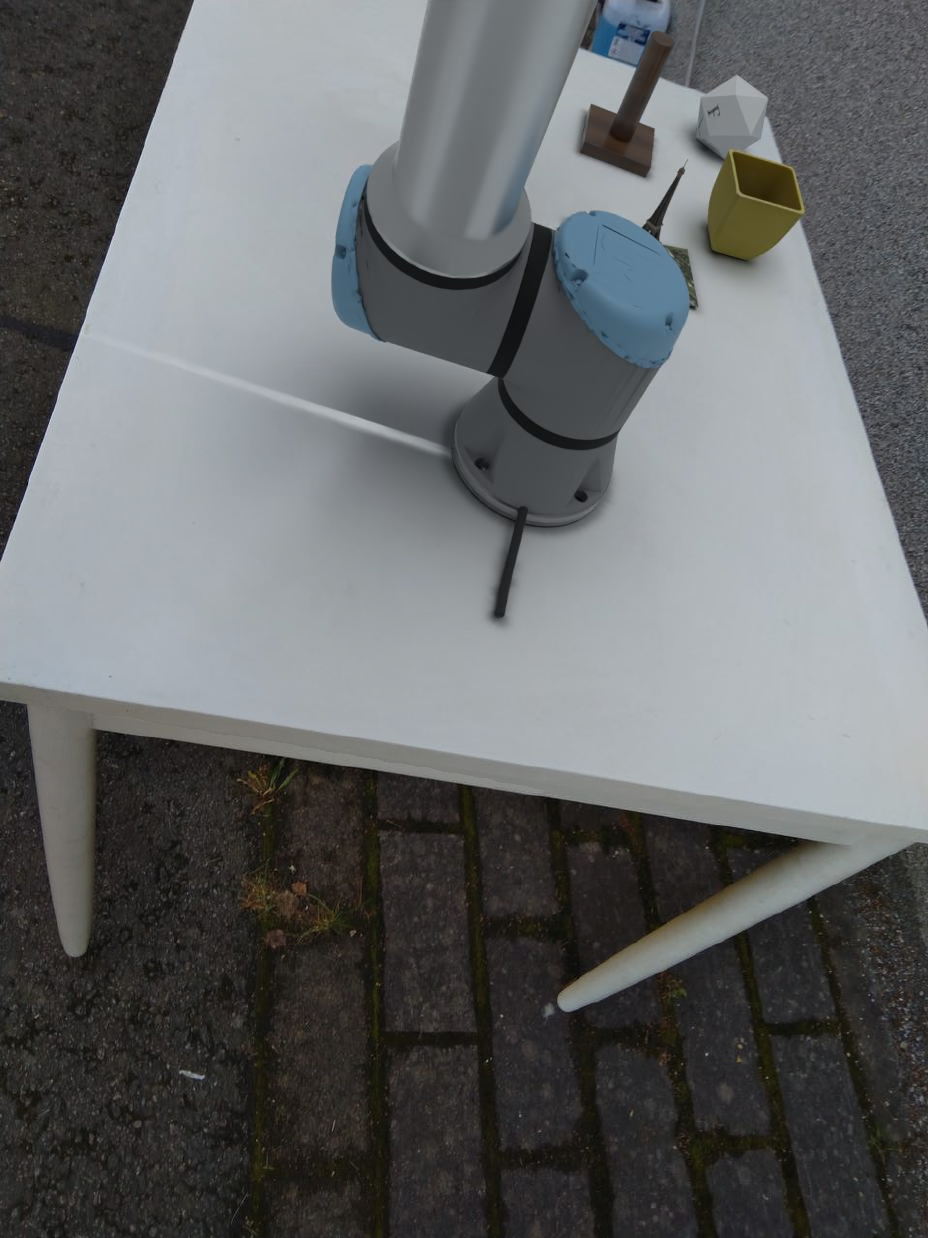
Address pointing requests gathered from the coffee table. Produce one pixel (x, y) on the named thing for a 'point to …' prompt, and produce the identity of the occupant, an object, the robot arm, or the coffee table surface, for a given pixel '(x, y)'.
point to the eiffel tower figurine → (676, 253)
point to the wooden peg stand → (629, 115)
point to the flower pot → (752, 205)
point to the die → (731, 116)
